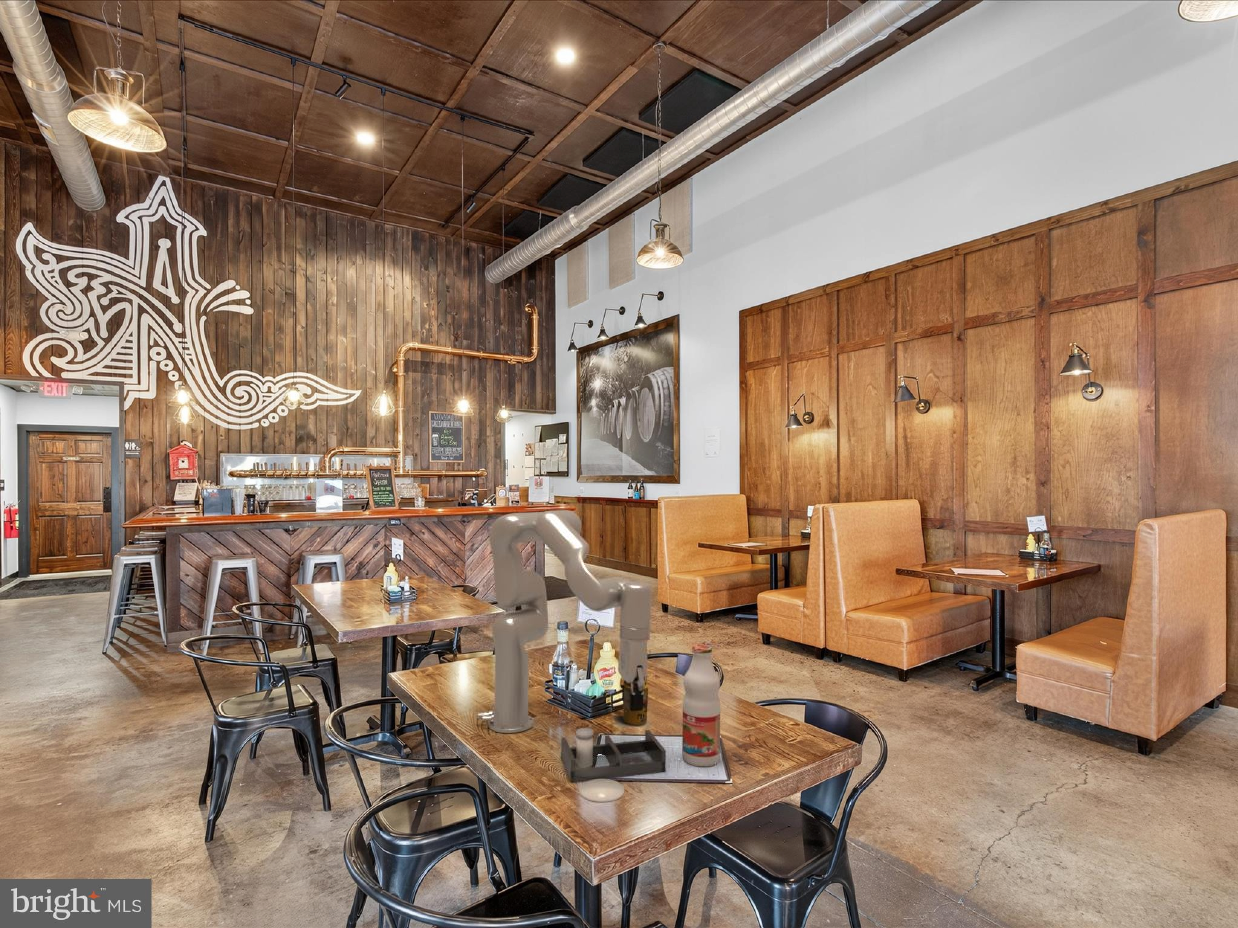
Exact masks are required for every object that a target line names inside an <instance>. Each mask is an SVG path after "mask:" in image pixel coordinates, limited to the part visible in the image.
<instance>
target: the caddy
mask: <svg viewBox="0 0 1238 928" xmlns="http://www.w3.org/2000/svg"><path fill="white" fill-rule="evenodd" d="M644 733H645V734H644V736H645V737H644V739H643V740H630V741H623V742H622V741H621V742H614V741H613V740H612V737H611V736H610V735H604V743H602V744H593V758H594V757H595V756H597V755H598V754H602V755H605V756H606V757H605V756H604V757H605V759H606V760H607V762H608V763H609V765H601V766H591V767H589V768H576V748H577V746H572V747H571V746H569V743H568V740H567V739H566V737H561V740H560V742H561V743H560V745H561V746H560V749H561V750H560V759H561V762H562V764H563V767H564V769H565V771H566V775H567V777H568V779H569V781H570V783H571V784H572V783H579V782H587V781H590V780H594V779H615V778H616V779H617V778H622V777H623V778H625V777H633V776H640V775H641V776H642V775H650V774H658V773H660V774H661V773H666V771H667V770H666V768H667V767H666V761H667V759H666V758H667V755H666V751H667V750H666V749H665V748H664V747H663V746H662V744H661V743H660V742H659V740H658V739H657V738H656V737H655V736H654V734H653V732H651V730H650V729H645V731H644ZM642 751H645V752H646V751H647V752H646V753H647V754H648V755H649V757H650V759H651V760H649V761H648V760H647V761H637V762H629V763H621V755H625V754H624V753H626V754H632V753H631V752H636V753H643V752H642ZM597 757H598V756H597ZM595 758H596V757H595Z"/></svg>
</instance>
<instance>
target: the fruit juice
mask: <svg viewBox="0 0 1238 928" xmlns="http://www.w3.org/2000/svg"><path fill="white" fill-rule="evenodd" d="M691 651H692V654H693V655H692V658H691V659H692V660H691V663H690V665H689V667H688V669H687V671H686V672H685V674H684V677H683V688H684V696H683V699H682V731H681V732H682V733H681V734H682V735H681V736H682V737H681V739H682V740H681V742H682V743H681V744H682V745H681V746H682V751H681V752H682V754H681V755H682V759H683V760H684V761H685V762H686V763H687V764H689V765H692V766H694V767H702V766H706V767H712V766H715V765H716V764H715V763H717V762H718V761H719V762H720V759H721V701H720V697H719V691H720V688H721V682H720V681H721V679H720V677H719V675H718V673H717V672H716V670H715V668H714V665H713V661H712V657H711V655H712V652H713V650H712V646H711V645H708V644H693V646H692V649H691ZM719 762H718V763H719ZM718 763H717V764H718ZM714 764H715V765H714ZM711 765H712V766H711Z"/></svg>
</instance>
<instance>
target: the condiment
mask: <svg viewBox="0 0 1238 928" xmlns="http://www.w3.org/2000/svg"><path fill="white" fill-rule="evenodd" d="M634 681H638V679H634ZM634 686H635V687H636V686H638V684H634ZM630 694H632V692H631V682H630V683H627V682H626V683H625V684H624V701H623V700H622V701H623V702H622V705H623V707H622V714H620V715H619V714H612V715H611V718H612V719H613V722H614V725H616V727H617V728H618V729H620V728H639V727H640V728H641V727H642V728H645V727H651V726H652V724H651V723H650V721H649V720H648V704H649V703H648V701H649V698H648V696H649V684H648V677H647V678H646V681H645V687H644V694H643V710H642V711H630Z"/></svg>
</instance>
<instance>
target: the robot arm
mask: <svg viewBox="0 0 1238 928" xmlns="http://www.w3.org/2000/svg"><path fill="white" fill-rule="evenodd" d="M581 531H582V521H581V519H580V517H579V516H578V514H576V513H575V512H573V511H572V510H570V509H568V510H567V509H561V510H560V509H558V510H557V509H556V510H548V511H547V510H546V511H540V512H539V511H536V512H535V511H534V512H513V513H508V514H504V515H502V516H500V517H498V518H497V519H496V520H495V521H494V522H493V524H492V525H491V527H490V531H489V546H490V551H491V556H492V562H493V579H494V582H493V583H494V593H495V594H494V595H495V599H496V602H497V604H498V605H499V606H500V607H502V608H506V609H507V608H516V607H520V606H521V607H520V608H521V609H519V610H515V611H511V612H507V613H503V614H502V615H500V616H499V617H497V618H496V619H495V621H494V623H493V624H492V628H491V634H492V635H491V636H492V640H493V647H494V662H495V663H494V706H492V709H489V710H488V711H478V712H477V720H482V722H488V728H489V729H490V730H492V731H493V732H497V733H501V734H514V733H515V734H517V733H520V732H521V733H522V732H525V731H527V730H529V729H531V728H532V727H533V726H534V722H535V721H534V717H532V716H531V715H529V696H530V695H529V691H530V690H529V689H530V687H529V686H530V681H529V680H530V660H529V655H528V653H527V650H526V648H525V645H526V644H528V643H532V642H536V641H537V640H538V641H539V640H540V639H542V638H543V637H544V636H545V635H546V633H547V632H548V628H549V613H548V597H547V587H546V583H545V581H544V579H543V577H542V576H541V574H539V573H538V572H536V571H534V570H526V571H525V567H524V558H523V555H522V552H521V550H520V548H519V547H518V546H517V544H519V543H531V542H541V541H542V542H543V543H544V545H546V547H547V548H548V549H549V550H550V551H551V552H552V554H553V555H554V556H555V557H556V558H557V559H558V560H559V561H560V563H562V564H563V566H564V574H565V578H566V579H565V580H566V582H567V584H568V587H569V589H570V591H572V593H573V594H574V596H575V597H577V599H578V600H579V601H580V602H581V603H582V604H583V605H584V606H585V608H588V609H589V610H591V611H592V612H593V611H594V612H602V611H606V610H611V609H613V608H619V607H620V617H619V618H620V619H619V640H620V644H619V652H618V662H617V663H618V665H617V671H618V674H619V675H620V676H621V677H622V691H621V694H622V695H621V700H622V701H624V684H625V683H626V682H627V683H630V682H631V692H632V694H630V711H642V710H643V694H644V687H645V681H646V678H647V679H648V644H647V643H648V641H650V640H651V616H652V615H651V613H652V611H651V610H652V587H651V585H650V584H649V583H648V582H645V581H634V580H630V579H627V578H624V577H621V576H612V577H608V578H607V577H606V578H602V579H597V578H596V577H595V576H594V575H593V574H592V573H591V572H590V570H589V569H588V568H587V566H586V565H585V563H584V560H585V559H586V558H587V556H588V555H589V552H590V545H589V542H587V541H586V540H585V539H584V537H582V536H581V535H580V534H581ZM634 679H638V681H634ZM634 684H638V686H636V687H635V686H634Z"/></svg>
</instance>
